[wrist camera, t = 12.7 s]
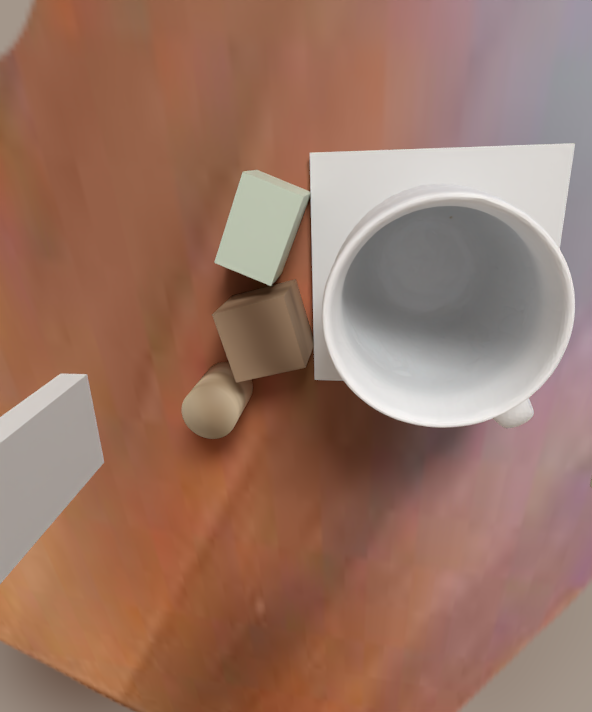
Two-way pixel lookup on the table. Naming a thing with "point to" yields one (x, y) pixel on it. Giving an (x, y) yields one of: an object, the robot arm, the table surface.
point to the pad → (411, 169)
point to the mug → (448, 308)
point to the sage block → (262, 226)
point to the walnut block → (265, 331)
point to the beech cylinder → (216, 402)
